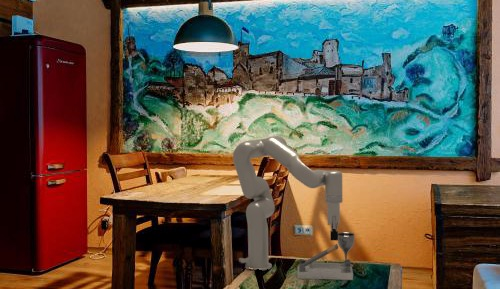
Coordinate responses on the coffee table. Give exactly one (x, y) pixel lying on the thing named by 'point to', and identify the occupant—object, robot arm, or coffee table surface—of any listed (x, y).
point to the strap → (320, 255)
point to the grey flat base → (325, 271)
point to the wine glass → (345, 243)
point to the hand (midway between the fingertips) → (334, 239)
